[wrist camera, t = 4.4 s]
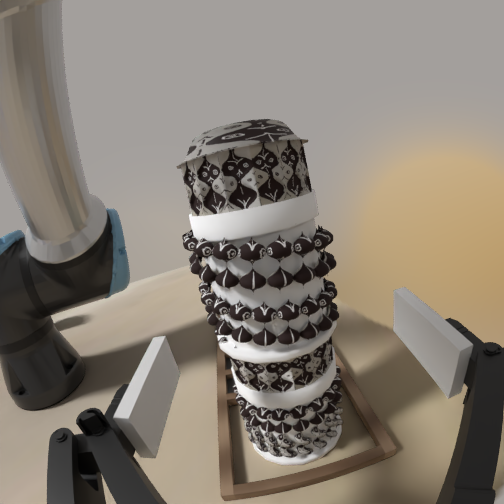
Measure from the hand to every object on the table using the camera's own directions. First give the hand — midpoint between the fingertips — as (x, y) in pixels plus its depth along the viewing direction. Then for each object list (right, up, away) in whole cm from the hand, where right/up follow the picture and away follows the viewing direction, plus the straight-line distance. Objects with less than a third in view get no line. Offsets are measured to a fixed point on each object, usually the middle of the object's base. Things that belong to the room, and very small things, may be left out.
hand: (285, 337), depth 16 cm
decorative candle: (+2, -12, +8) cm, 14 cm away
